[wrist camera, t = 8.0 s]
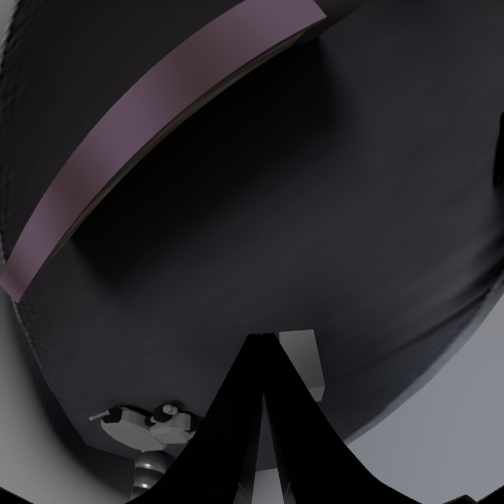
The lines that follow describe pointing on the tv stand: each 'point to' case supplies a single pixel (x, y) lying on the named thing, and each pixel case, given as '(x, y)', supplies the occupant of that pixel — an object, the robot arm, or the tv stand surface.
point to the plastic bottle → (148, 471)
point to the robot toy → (148, 427)
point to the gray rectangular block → (305, 359)
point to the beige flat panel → (161, 115)
